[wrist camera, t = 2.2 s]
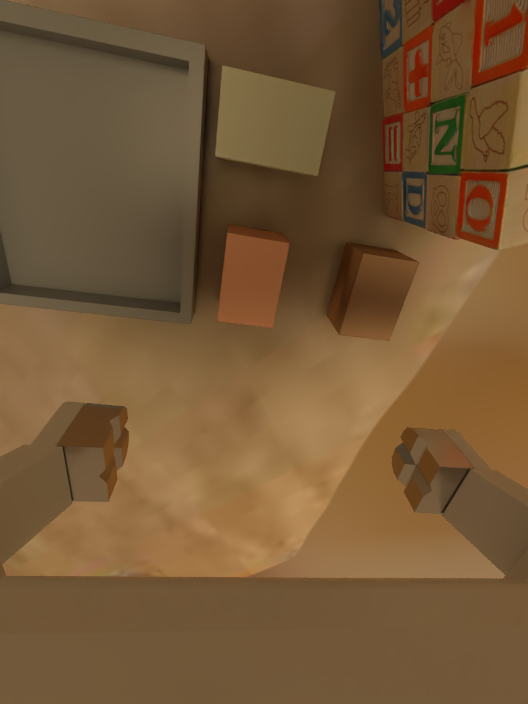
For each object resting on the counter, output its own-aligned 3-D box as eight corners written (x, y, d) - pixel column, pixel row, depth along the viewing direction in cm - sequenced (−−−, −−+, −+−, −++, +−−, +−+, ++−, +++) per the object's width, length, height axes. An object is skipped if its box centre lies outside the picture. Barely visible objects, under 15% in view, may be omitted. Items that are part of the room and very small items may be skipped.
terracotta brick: (228, 224, 24) (227, 232, 20) (282, 233, 25) (289, 243, 21) (219, 301, 27) (217, 320, 23) (268, 308, 27) (272, 328, 24)
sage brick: (224, 83, 20) (222, 65, 17) (319, 104, 21) (335, 91, 17) (218, 158, 22) (214, 156, 18) (305, 175, 23) (317, 175, 19)
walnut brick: (346, 241, 25) (363, 253, 22) (394, 249, 26) (419, 262, 22) (326, 314, 28) (339, 334, 24) (370, 320, 29) (389, 340, 25)
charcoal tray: (-58, 1, 17) (-100, -23, 15) (208, 59, 19) (205, 44, 17) (6, 290, 25) (-15, 302, 23) (194, 311, 27) (190, 324, 25)
